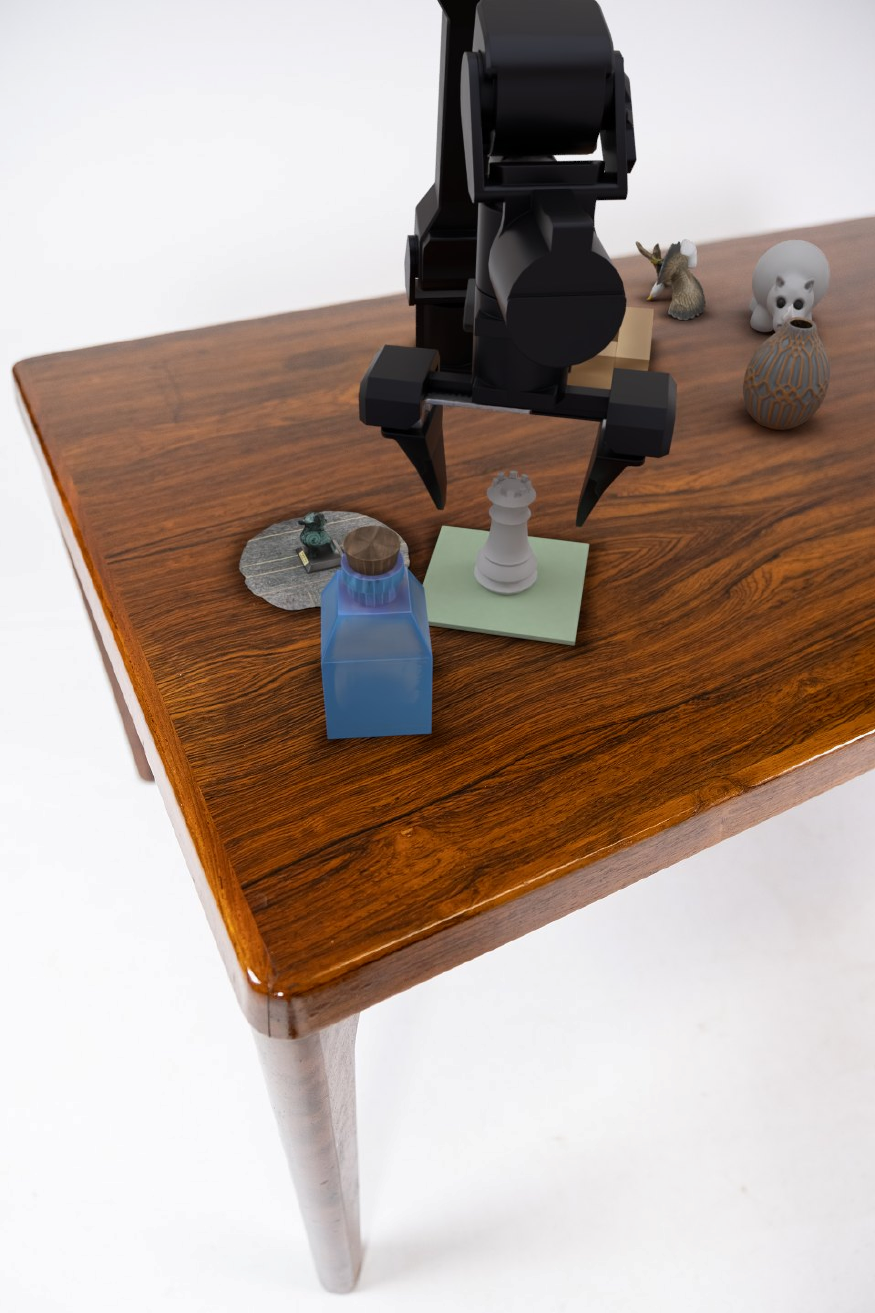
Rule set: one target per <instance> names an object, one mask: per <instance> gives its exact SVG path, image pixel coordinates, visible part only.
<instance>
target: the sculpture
mask: <svg viewBox="0 0 875 1313" xmlns="http://www.w3.org/2000/svg"><path fill="white" fill-rule="evenodd" d="M364 526H381V527H385V528H389V529H390V530H392V531H394V532H395V533H396V534H397V535H398V536H399V537H400V540H401V546H400V550H399V551H400V552H401V553H402V555H403V558H404V568H406V567H407V568H408V569H409V567H410V563H411V560H410V558H409V556H410V555H409V547H408V545H407V543H406V541H405V540H404V539H403V538H402V536H401V535H400V534H398V533H397V532H396V531H395V530H393V529H392V528H390V527H388V525H387V524H384V523H383V522H381V521H379V520H378V519H375V518H374V517H373V518H372V517H370V516H368V515H364V514H361V513H358V512H353V511H343V510H342V511H337V510H336V511H333V510H324V511H319V512H315V511H313V510H310V511H309V512H308V513H306V514H305V515H304V516H303V517H302V516H301V517H294V518H291V519H286V520H283V521H281V522H280V523H279V522H278V523H273V524H272V525H270V526H268V527H267V528H265V529H263V530H262V531H261V532H259V533H258V534H256V535H255V536H254V537H252V538H251V539H249V540H248V541H247V542H246V545H245V547H244V548H243V551H242V553H241V556H240V560H239V564H238V566H239V567H238V569H239V572H240V573H241V574H242V575H243V576H244V577H245V580H244V583H245V585H246V587H247V589H248V590H250V591H251V592H252V593H253V594H254V595H255V596H257V597H259V598H263V600H264V601H266V602H268V603H269V604H270V605H273V606H275V607H277V608H280V609H284V610H285V611H286V610H287V611H298V610H305V609H309V608H315V607H318V608H319V607H320V608H321V592H322V591H323V589H324V588H325V587H326V585H327V584H328V583H329V581H330V580H331V579H332V577H333V576H334V574H335V573H336V572H337V570H341V560H342V556H343V555H344V553H345V551H344V548H343V544H342V543H343V539H344V537H345V536H346V535H347V534H348V533H349V532H351V531H352V530H354V529H357V528H360V527H364Z"/></svg>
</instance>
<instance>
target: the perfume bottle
mask: <svg viewBox="0 0 875 1313" xmlns="http://www.w3.org/2000/svg"><path fill="white" fill-rule="evenodd" d="M389 528H390V527H388V528H385V527H381V526H364V527H360V528H357V529H354V530H352V531H351V532H349V533H348V534H347V535H346V536H345V537H344V539H343V543H342V544H343V548H344V551H345V553H344V555H343V556H342V560H341V570H337V572H336V573H335V574H334V576H333V577H332V579H331V580H330V581H329V583H328V584H327V585H326V587H325V588H324V589H323V591H322V592H321V607H320V665H321V677H322V690H323V700H324V702H323V703H324V712H325V723H326V734H327V740H334V739H335V740H336V739H337V740H338V739H356V738H357V739H358V738H373V737H375V738H377V737H393V736H394V737H395V736H411V735H430V734H432V730H433V729H432V726H433V724H432V722H433V660H434V659H433V651H432V650H433V648H432V642H431V633H430V632H431V631H430V626H429V624H428V615H427V607H426V599H425V590H424V587H423V586H422V585H423V584H422V583H421V582H420V581H419V580H418V579H417V578H416V576H415V575H414V574H413V573H412V571H411V570H410V569H409V567H408V568H407V567H406V568H404V558H403V555H402V553H401V552H400V551H399V550H400V546H401V540H400V537H399V536H400V535H399V534H398V533H397V532H396V531H395V530H394V531H395V532H396V533H397V534H398V535H399V536H398V535H397V534H396V533H395V532H394V531H392V530H393V529H392V530H390V529H391V528H390V529H389Z"/></svg>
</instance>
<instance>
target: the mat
mask: <svg viewBox="0 0 875 1313" xmlns="http://www.w3.org/2000/svg"><path fill="white" fill-rule="evenodd" d="M489 532H490V530H489V531H488V530H483V529H482V530H481V529H475V528H473V529H472V528H465V527H457V526H450V525H442V526H441V529H440V531H439V535H438V538H437V539H436V540H437V541H436V543H435V546H434V549H433V552H432V555H431V559H430V562H429V565H428V567H427V570H426V574H425V577H424V580H423V583H422V584H421V585H422V586H423V587H424V590H425V599H426V607H427V615H428V624H429V627H430V626H431V627H438V628H445V629H452V630H459V631H467V632H471V633H472V632H474V633H481V634H488V635H495V636H502V637H509V638H516V639H524V640H530V641H538V642H546V643H553V644H559V645H567V646H573V647H574V646H575V645H576V638H577V632H578V631H577V630H578V625H579V618H580V611H581V605H582V598H583V590H584V583H585V579H586V578H585V577H586V570H587V563H588V558H589V557H588V556H589V550H590V549H589V548H590V544H589V543H585V542H577V541H571V540H569V541H568V540H561V539H552V538H545V537H537V536H529V535H528V542H529V544H530V546H531V548H532V551H533V552H534V554H535V556H536V558H537V569H536V570H537V579H536V581H535V582H534V583H533V584H532V585H531V586H530V587H529V588H528V589H527V590H525V591H523V592H521V593H519V594H512V595H501V594H496V593H493V592H490V591H488V590H487V589H485V588H484V587H483V586H482V585H481V584H480V583H479V582H478V581H477V579H476V577H475V575H474V570H475V566H476V564H475V562H476V557H477V554H478V552H479V551H480V550H481V549H482V547H483V544H484V543H485V542H486V541H487V539H488V537H489Z"/></svg>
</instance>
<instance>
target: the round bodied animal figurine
mask: <svg viewBox="0 0 875 1313" xmlns="http://www.w3.org/2000/svg"><path fill="white" fill-rule="evenodd" d="M830 280H831V270H830V264H829V261H828V258H827V257H826V256H825V254H824V252H823V251H822V250H821V249H820V247H818V246H816V245H815V244H813V243H812V242H810V241H806V240H803V239H789V240H784V241H781V242H779V243H776V244H775V245H773V246H772V247H770V248H768V249H767V251H766V252H764V253H763V254H762V256H761V257H760V258H759V259H758V262H757V263H756V266H755V267H754V270H753V274H752V279H751V289H752V293H753V297H752V298H751V301H750V304H749V311H750V313H752V314H751V318H750V323H749V324H750V327H751V328H752V329H753V330H755V331H758V332H759V333H760V332H761V333H770V332H772V331H774V332H775V333H776V332H777V331H779V330H780V329H781V327H782V326H783V325H784V324H785V322H786V321H787V320H788V319H790V318H794V317H802V318H807V319H810V320H812V321H813V318H812V314H813V310H814V309H815V308H816V307H817V305H819V304H820V303H821V301H822V300H823V298H824V297H825V295H826V293H827V292H828V288H829V285H830Z"/></svg>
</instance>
